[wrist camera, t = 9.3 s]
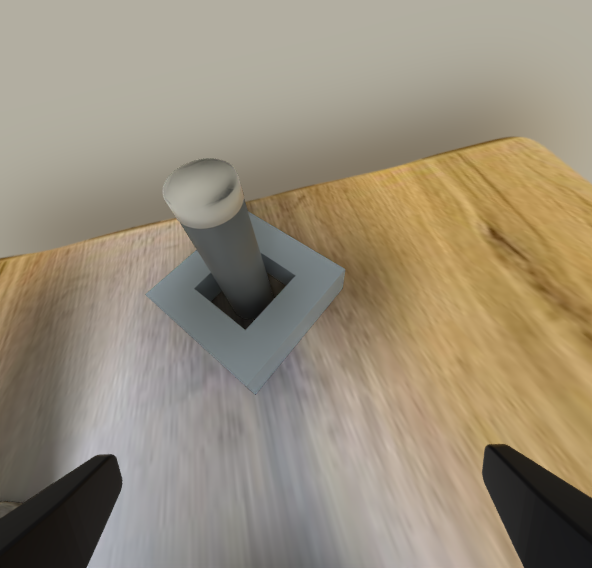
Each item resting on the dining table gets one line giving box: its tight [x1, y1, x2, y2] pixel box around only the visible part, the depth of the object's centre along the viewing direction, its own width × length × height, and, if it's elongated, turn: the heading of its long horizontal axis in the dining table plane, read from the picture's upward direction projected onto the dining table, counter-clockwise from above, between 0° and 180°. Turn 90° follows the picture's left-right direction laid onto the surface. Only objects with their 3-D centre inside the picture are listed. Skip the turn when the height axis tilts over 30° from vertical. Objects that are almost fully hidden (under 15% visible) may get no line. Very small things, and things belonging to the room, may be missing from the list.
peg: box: [163, 158, 274, 319], centre depth 19 cm, size 4×4×12 cm
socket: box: [145, 212, 345, 395], centre depth 23 cm, size 11×11×3 cm
